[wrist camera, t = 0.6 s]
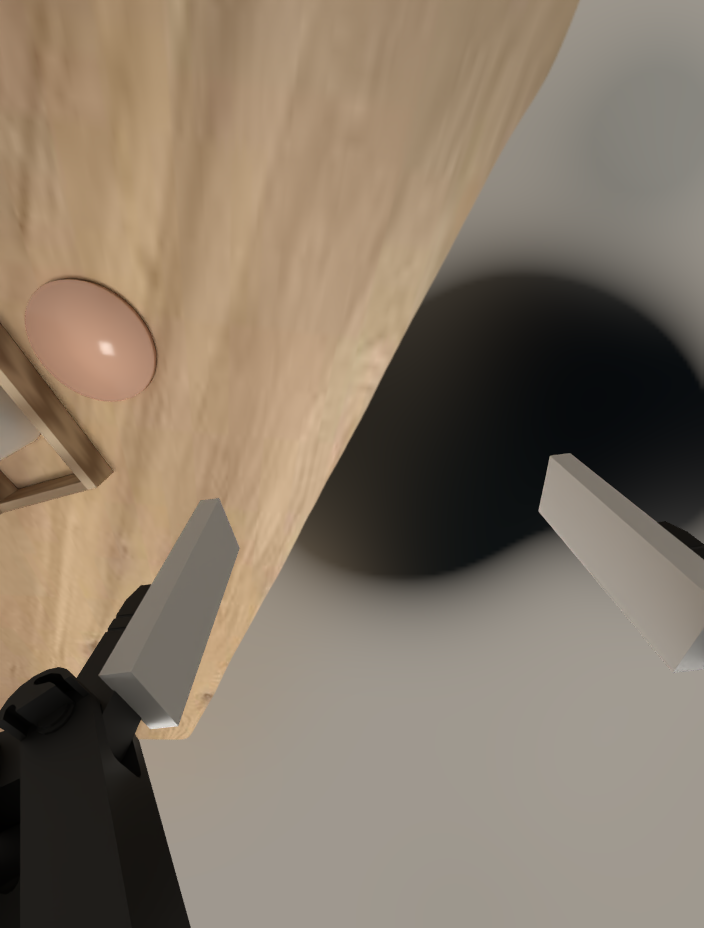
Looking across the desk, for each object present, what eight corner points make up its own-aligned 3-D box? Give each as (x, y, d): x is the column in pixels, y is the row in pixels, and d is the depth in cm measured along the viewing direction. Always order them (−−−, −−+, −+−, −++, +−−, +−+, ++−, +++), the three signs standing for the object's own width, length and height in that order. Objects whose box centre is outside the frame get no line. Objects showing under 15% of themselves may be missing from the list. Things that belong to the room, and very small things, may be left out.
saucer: (2, 300, 33) (-5, 300, 32) (111, 262, 31) (106, 262, 31) (83, 410, 39) (79, 413, 38) (177, 382, 37) (174, 385, 37)
